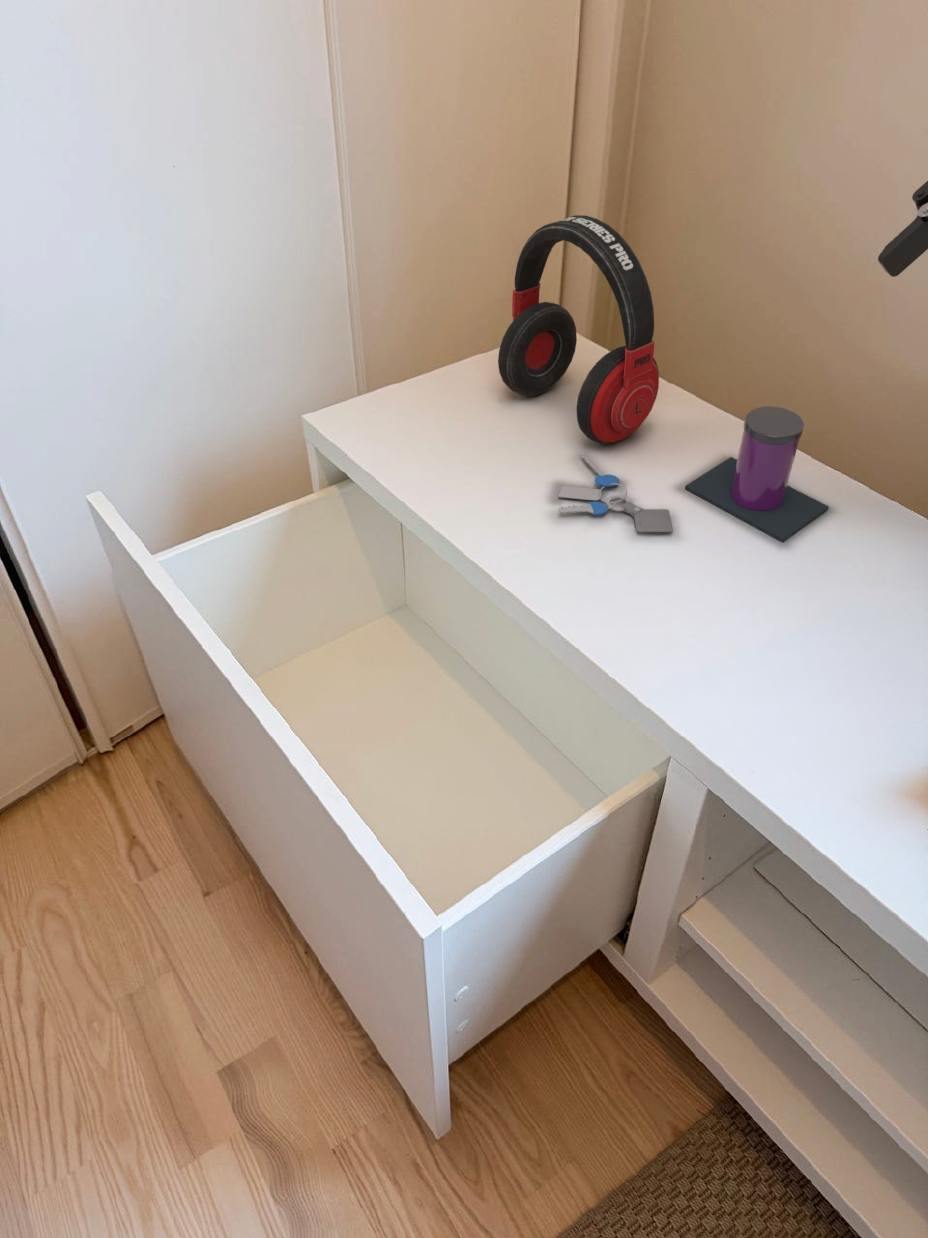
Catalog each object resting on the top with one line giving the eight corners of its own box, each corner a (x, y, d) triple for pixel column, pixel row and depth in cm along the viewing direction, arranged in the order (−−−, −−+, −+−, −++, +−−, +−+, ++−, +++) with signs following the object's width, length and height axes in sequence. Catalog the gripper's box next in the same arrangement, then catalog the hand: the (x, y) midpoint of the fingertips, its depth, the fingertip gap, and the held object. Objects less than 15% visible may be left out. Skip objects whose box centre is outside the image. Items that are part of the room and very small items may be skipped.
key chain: (686, 526, 84) (688, 519, 84) (619, 562, 81) (620, 555, 80) (584, 457, 93) (584, 450, 92) (519, 487, 89) (519, 480, 89)
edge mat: (828, 509, 86) (829, 506, 86) (782, 542, 83) (783, 539, 82) (730, 459, 92) (731, 456, 92) (684, 488, 89) (685, 485, 88)
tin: (795, 496, 87) (815, 421, 81) (763, 518, 84) (781, 443, 79) (750, 473, 90) (767, 399, 84) (718, 494, 87) (733, 420, 82)
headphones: (667, 433, 96) (697, 237, 82) (596, 469, 91) (614, 268, 77) (554, 367, 106) (563, 183, 92) (485, 396, 101) (483, 208, 88)
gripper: (1042, 34, 63) (842, 222, 70) (1200, 92, 53) (949, 305, 60) (1079, 113, 68) (887, 283, 74) (1231, 180, 58) (994, 370, 64)
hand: (915, 293), depth 67 cm, fingers open, 8 cm apart
